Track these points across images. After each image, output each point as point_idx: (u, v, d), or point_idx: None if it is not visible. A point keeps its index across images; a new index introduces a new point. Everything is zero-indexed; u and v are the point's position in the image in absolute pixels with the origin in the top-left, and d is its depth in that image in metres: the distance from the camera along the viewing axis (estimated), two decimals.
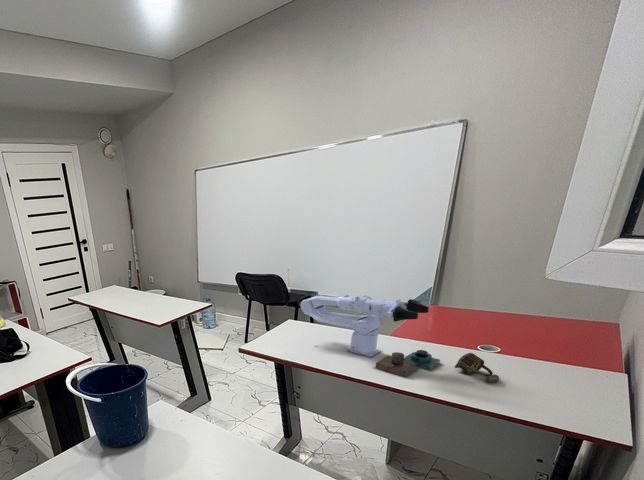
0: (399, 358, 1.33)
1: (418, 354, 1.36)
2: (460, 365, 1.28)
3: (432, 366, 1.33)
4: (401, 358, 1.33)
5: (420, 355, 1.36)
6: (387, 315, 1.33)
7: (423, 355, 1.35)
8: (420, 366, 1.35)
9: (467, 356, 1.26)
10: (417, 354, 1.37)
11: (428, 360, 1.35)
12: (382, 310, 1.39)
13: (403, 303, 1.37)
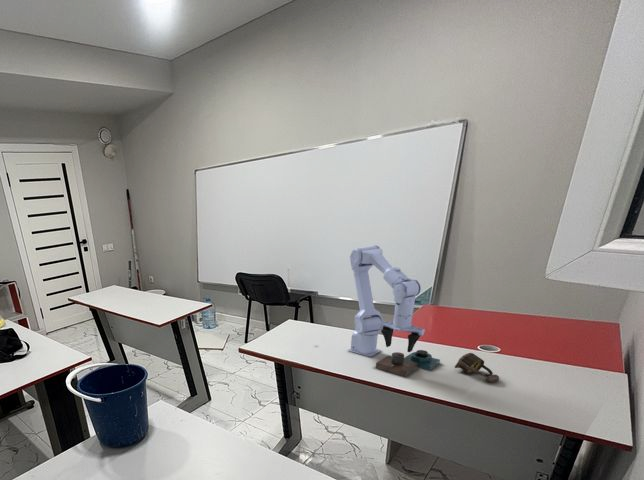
0: (399, 358, 1.33)
1: (418, 354, 1.36)
2: (460, 365, 1.28)
3: (432, 366, 1.33)
4: (401, 358, 1.33)
5: (420, 355, 1.36)
6: None
7: (423, 355, 1.35)
8: (420, 366, 1.35)
9: (467, 356, 1.26)
10: (417, 354, 1.37)
11: (428, 360, 1.35)
12: None
13: None
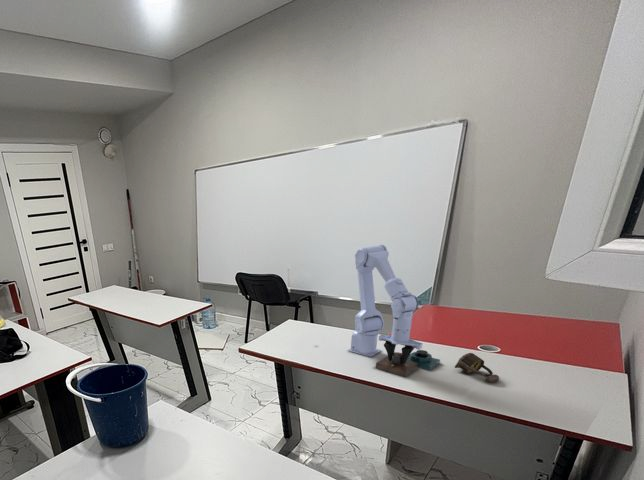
0: (399, 358, 1.33)
1: (418, 354, 1.36)
2: (460, 365, 1.28)
3: (432, 366, 1.33)
4: (401, 358, 1.33)
5: (420, 355, 1.36)
6: None
7: (423, 355, 1.35)
8: (420, 366, 1.35)
9: (467, 356, 1.26)
10: (417, 354, 1.37)
11: (428, 360, 1.35)
12: None
13: None
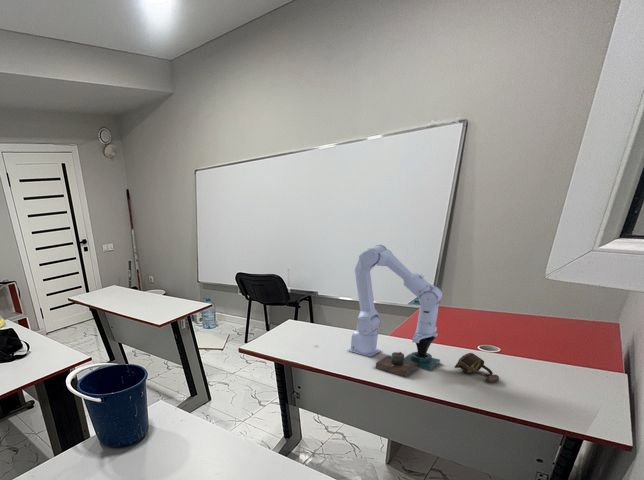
0: None
1: (418, 356, 1.37)
2: (460, 365, 1.28)
3: (432, 366, 1.33)
4: None
5: None
6: (415, 338, 1.30)
7: None
8: (420, 366, 1.35)
9: (467, 356, 1.26)
10: None
11: (428, 360, 1.35)
12: (422, 324, 1.31)
13: None
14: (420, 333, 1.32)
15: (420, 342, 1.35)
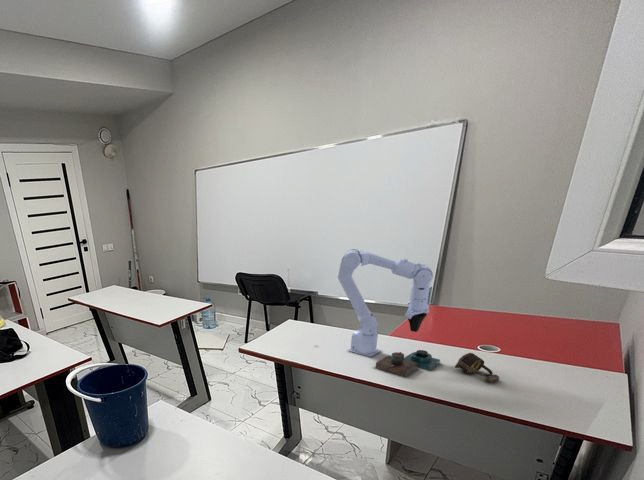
0: None
1: (418, 354, 1.36)
2: (460, 365, 1.28)
3: (432, 366, 1.33)
4: None
5: (420, 355, 1.36)
6: (407, 314, 1.35)
7: (423, 355, 1.35)
8: (420, 366, 1.35)
9: (467, 356, 1.26)
10: (417, 354, 1.37)
11: (428, 360, 1.35)
12: (414, 300, 1.36)
13: None
14: (412, 310, 1.37)
15: (412, 319, 1.40)
